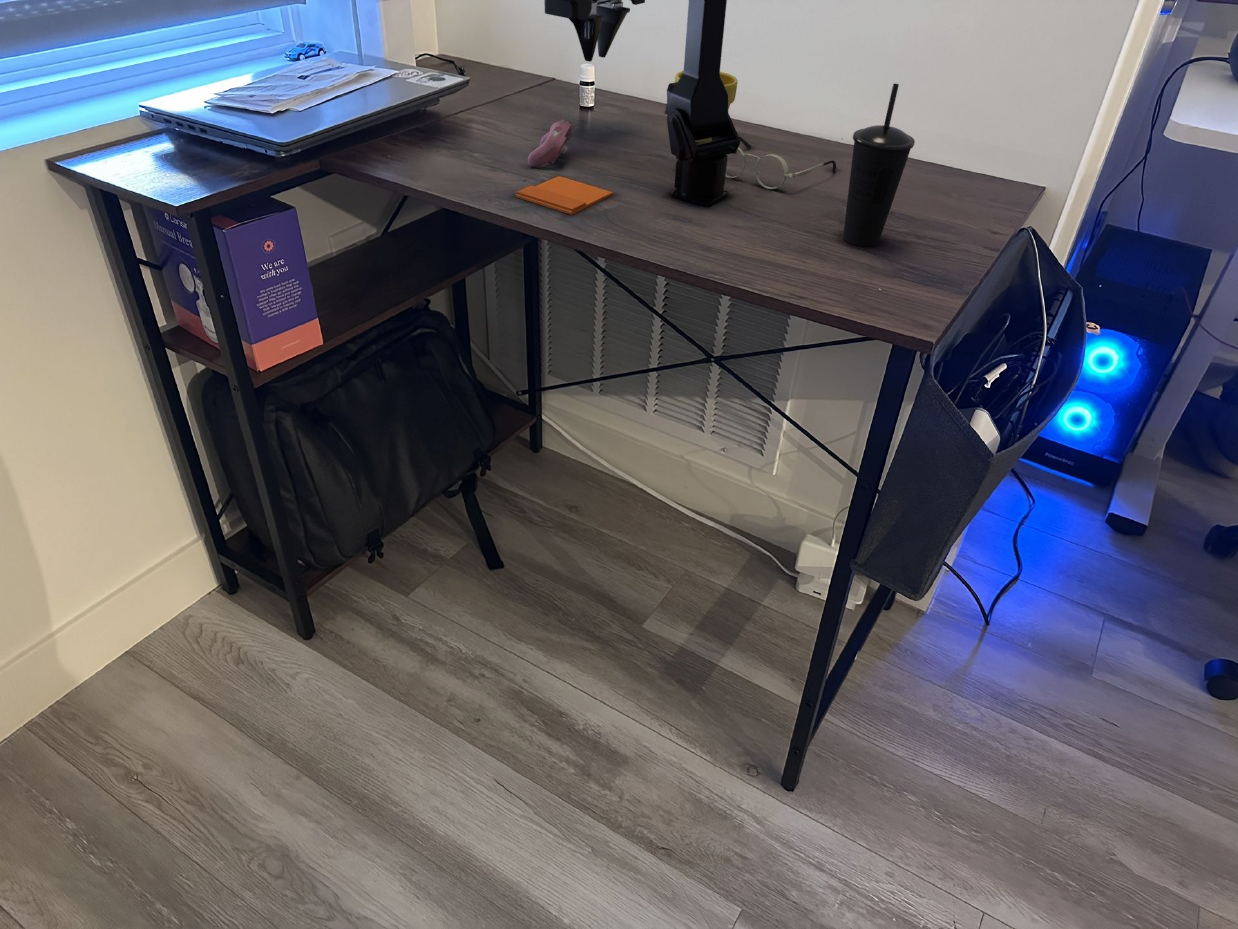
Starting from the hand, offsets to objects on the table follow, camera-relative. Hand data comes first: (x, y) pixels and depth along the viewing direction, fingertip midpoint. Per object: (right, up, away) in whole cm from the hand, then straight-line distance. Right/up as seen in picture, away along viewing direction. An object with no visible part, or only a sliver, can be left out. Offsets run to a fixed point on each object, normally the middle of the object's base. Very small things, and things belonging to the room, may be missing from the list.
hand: (595, 59), depth 138 cm
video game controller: (-7, -16, +1) cm, 17 cm away
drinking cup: (+37, -34, -19) cm, 53 cm away
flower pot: (+18, -8, +13) cm, 23 cm away
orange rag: (-4, -25, -11) cm, 28 cm away
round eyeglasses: (+28, -18, +1) cm, 33 cm away
